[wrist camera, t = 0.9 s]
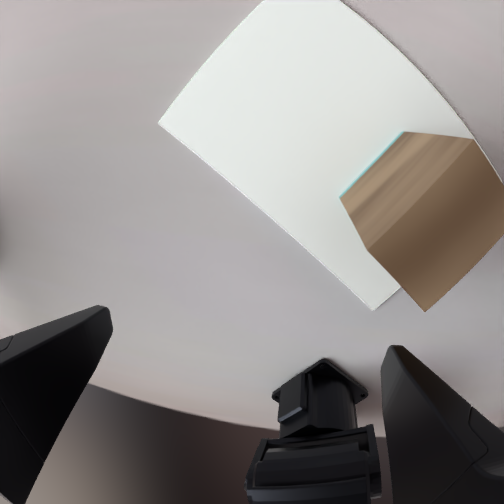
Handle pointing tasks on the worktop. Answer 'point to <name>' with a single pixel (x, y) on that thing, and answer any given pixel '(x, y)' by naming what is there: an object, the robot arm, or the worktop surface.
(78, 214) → the worktop surface
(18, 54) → the worktop surface
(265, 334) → the worktop surface
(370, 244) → the wooden block
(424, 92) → the white mat
